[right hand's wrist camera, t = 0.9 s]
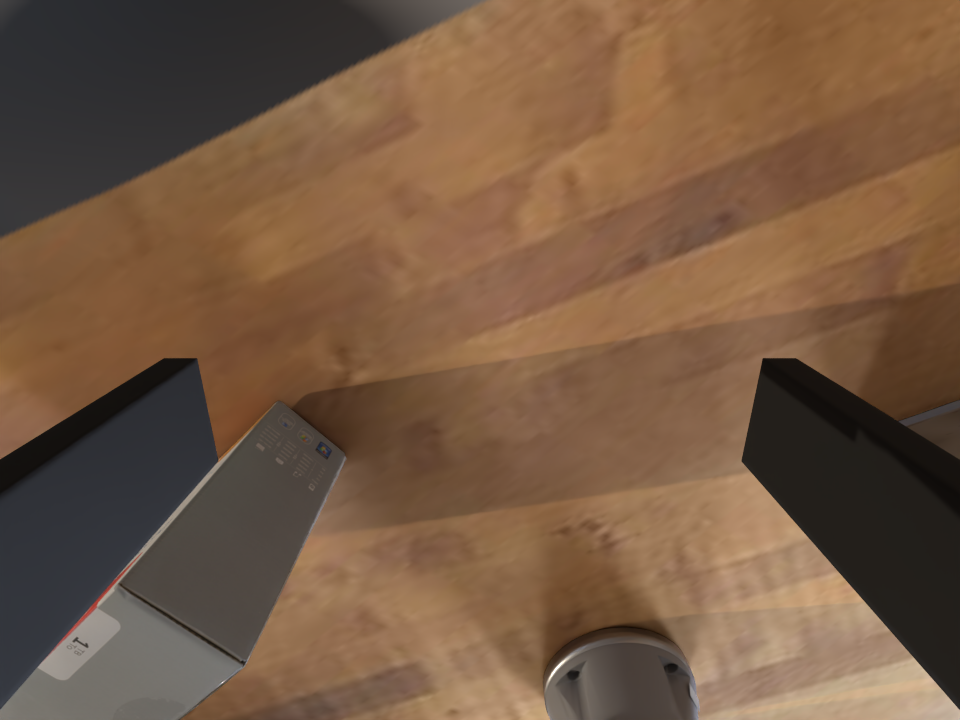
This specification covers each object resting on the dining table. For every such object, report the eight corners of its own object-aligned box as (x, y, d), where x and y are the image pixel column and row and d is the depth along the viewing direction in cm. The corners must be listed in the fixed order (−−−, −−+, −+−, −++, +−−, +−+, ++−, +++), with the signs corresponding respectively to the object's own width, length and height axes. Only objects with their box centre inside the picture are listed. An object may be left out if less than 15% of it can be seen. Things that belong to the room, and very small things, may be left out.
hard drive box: (278, 395, 42) (120, 581, 24) (350, 453, 44) (255, 668, 26) (170, 504, 46) (-40, 738, 27) (240, 554, 48) (88, 803, 29)
